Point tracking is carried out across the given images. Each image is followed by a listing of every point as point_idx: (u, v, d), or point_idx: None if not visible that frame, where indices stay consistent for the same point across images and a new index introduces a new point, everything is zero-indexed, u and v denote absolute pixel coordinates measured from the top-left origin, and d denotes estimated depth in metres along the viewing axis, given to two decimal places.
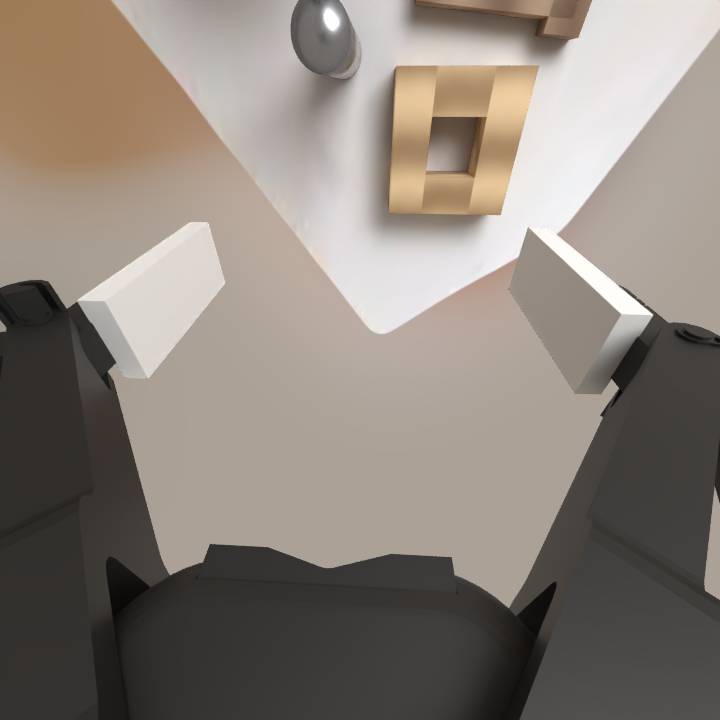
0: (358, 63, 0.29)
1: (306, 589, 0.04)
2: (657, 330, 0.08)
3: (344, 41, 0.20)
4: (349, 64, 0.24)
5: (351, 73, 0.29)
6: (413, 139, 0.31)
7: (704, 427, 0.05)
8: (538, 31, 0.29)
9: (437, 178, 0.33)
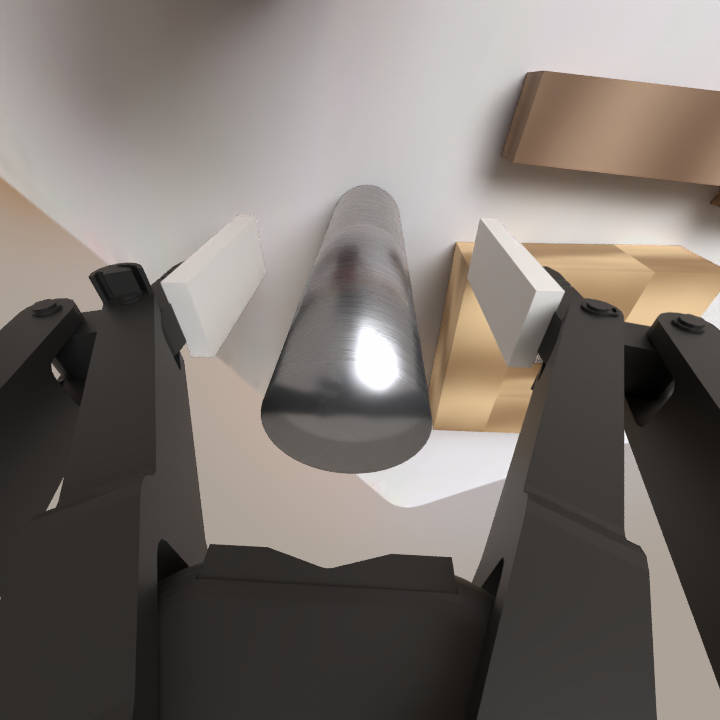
0: None
1: (306, 589, 0.04)
2: None
3: (412, 439, 0.07)
4: None
5: None
6: (484, 355, 0.19)
7: (611, 389, 0.06)
8: None
9: (516, 397, 0.21)
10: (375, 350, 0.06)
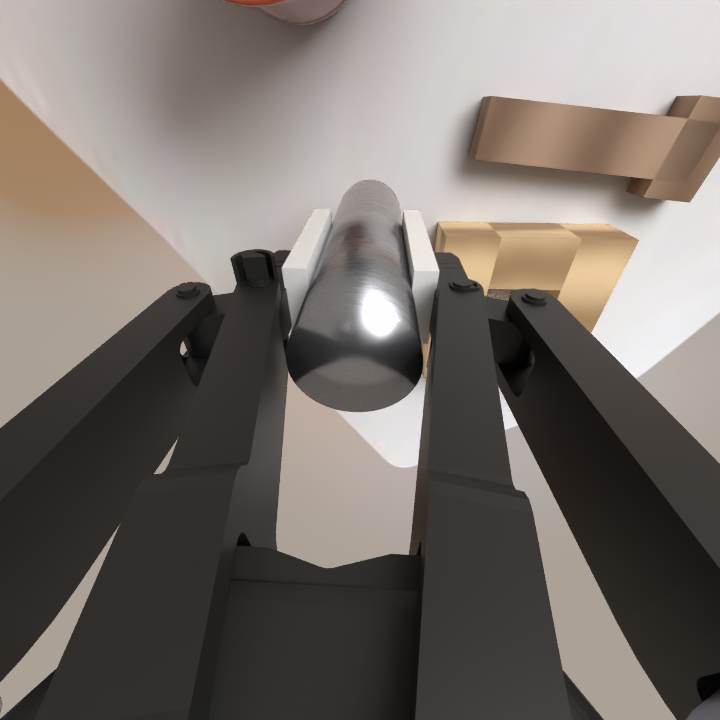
0: None
1: (306, 589, 0.04)
2: None
3: (406, 378, 0.09)
4: None
5: None
6: None
7: (483, 356, 0.07)
8: (631, 188, 0.22)
9: None
10: (380, 300, 0.08)
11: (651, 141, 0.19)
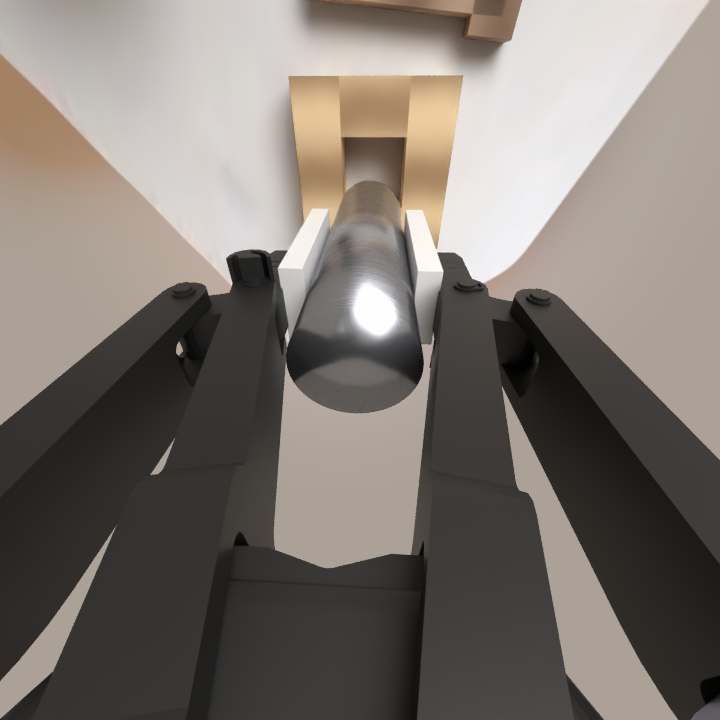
0: None
1: (306, 589, 0.04)
2: None
3: (406, 379, 0.09)
4: None
5: None
6: (322, 163, 0.26)
7: (487, 357, 0.07)
8: (464, 32, 0.23)
9: None
10: (381, 302, 0.08)
11: None
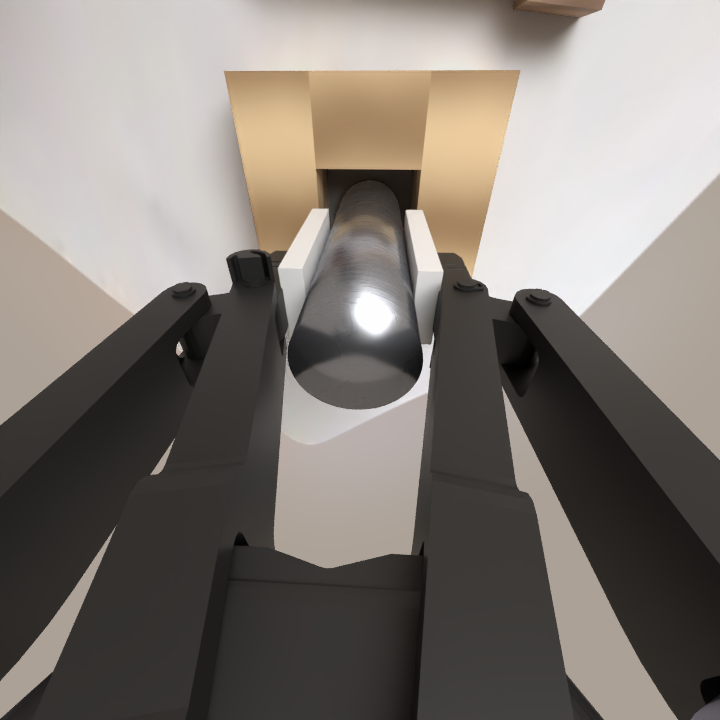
0: None
1: (306, 589, 0.04)
2: None
3: (406, 376, 0.09)
4: None
5: None
6: (288, 207, 0.17)
7: (487, 357, 0.07)
8: None
9: None
10: (381, 299, 0.08)
11: None
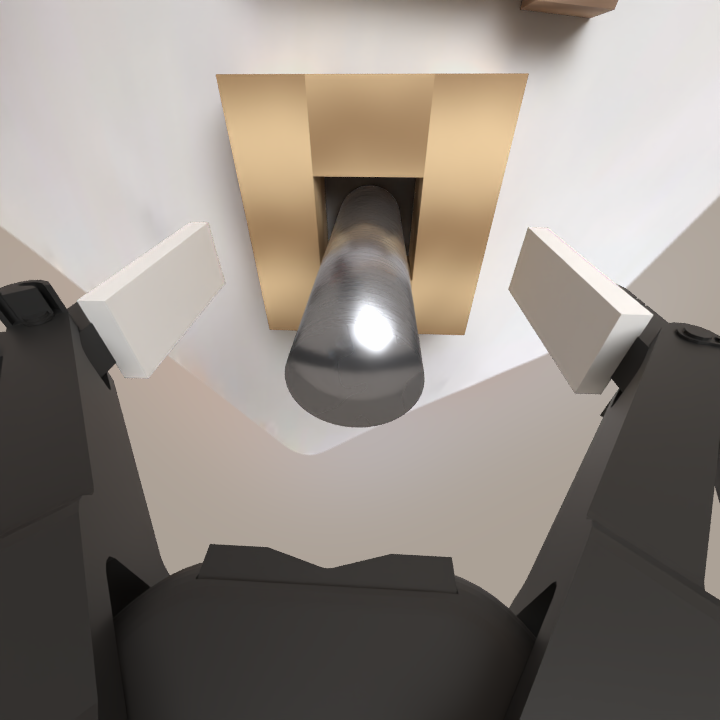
0: None
1: (306, 589, 0.04)
2: (657, 330, 0.08)
3: (407, 395, 0.09)
4: None
5: None
6: (285, 216, 0.16)
7: (704, 427, 0.05)
8: None
9: None
10: (381, 319, 0.08)
11: None
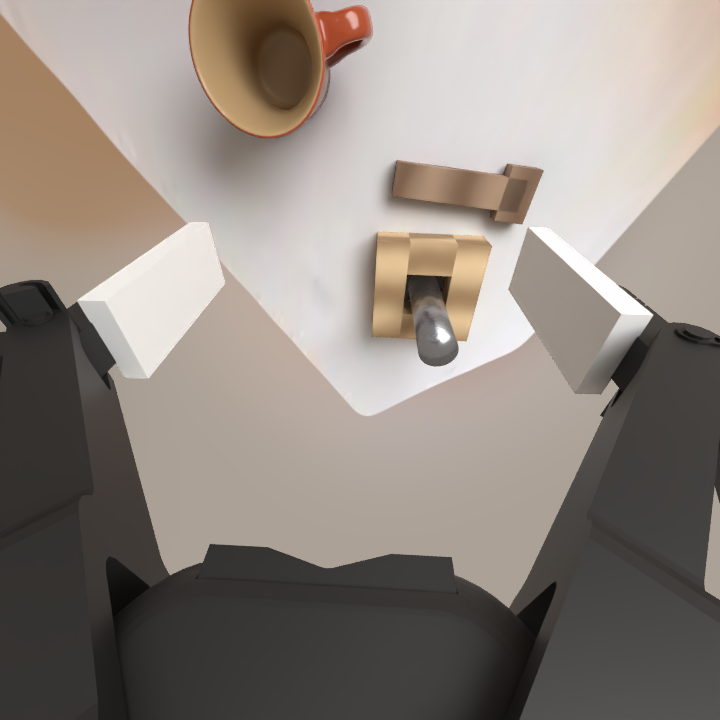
0: None
1: (306, 589, 0.04)
2: (657, 330, 0.08)
3: (452, 355, 0.30)
4: None
5: None
6: (391, 288, 0.38)
7: (704, 427, 0.05)
8: (491, 214, 0.35)
9: None
10: (447, 333, 0.29)
11: (491, 189, 0.33)
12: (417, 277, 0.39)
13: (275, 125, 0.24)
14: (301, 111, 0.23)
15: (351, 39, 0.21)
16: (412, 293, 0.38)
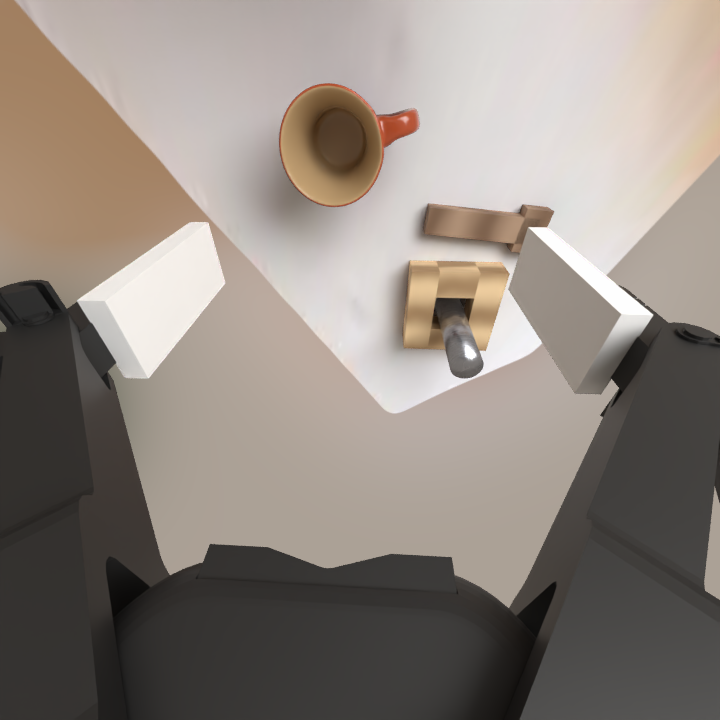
0: None
1: (306, 589, 0.04)
2: (657, 330, 0.08)
3: (478, 369, 0.37)
4: None
5: None
6: (422, 308, 0.44)
7: (704, 427, 0.05)
8: (508, 245, 0.41)
9: (439, 329, 0.46)
10: (474, 352, 0.36)
11: (509, 227, 0.39)
12: None
13: (339, 196, 0.30)
14: (361, 186, 0.30)
15: (404, 135, 0.27)
16: (440, 312, 0.44)
